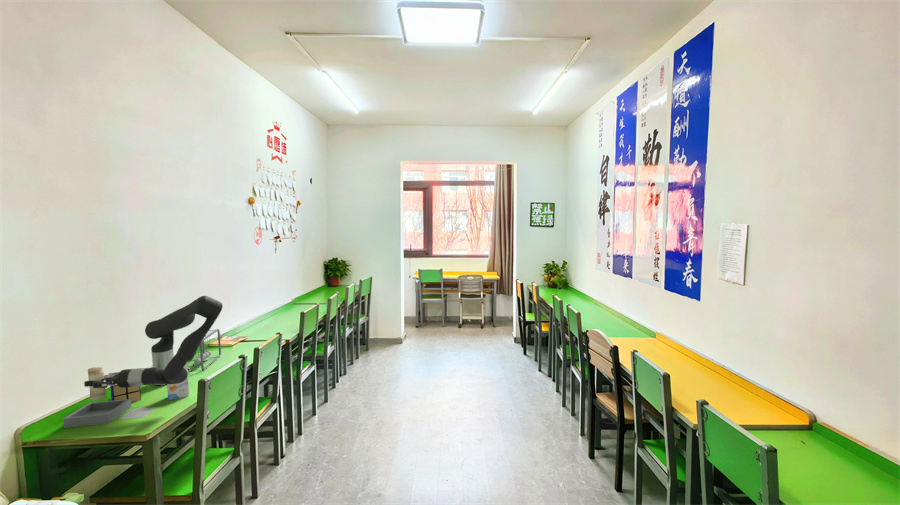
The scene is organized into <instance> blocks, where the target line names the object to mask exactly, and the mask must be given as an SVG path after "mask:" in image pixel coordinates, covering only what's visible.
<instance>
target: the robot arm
mask: <svg viewBox="0 0 900 505" xmlns="http://www.w3.org/2000/svg"><path fill="white" fill-rule="evenodd" d="M222 310H223V303H222V302H220V301H219V300H217V299H215V298H213V297H210V296H208V295H202V296H199V297H197V298H196V299H195V300H193V301H192V302H190V303H189V304H187V305H185V306H183V307H181V308H179V309H178V308H177V309H176V310H173V311H172V312H171V313H169V314H167V315H165V316H163V317H161V318H160V319H157V320H151V321H150V322H148V323H147V324H146V326H145V329H144V331H145V332H144V334H145V336H147V337H148V338H149V339H151V340H156V339H159V340H158V342H156V343H155V344H153V345H152V346H151V349H150V350H151V361H152V362H151V363H152V367H148V368H146V367H145V368H144V367H141V368H139V367H138V368H127V369H122V370H120V371H117V372H112V373H111V372H110V373H108V374H104V378H102V379H100V380H93V381H89V380H86V381H84V382H83V384H84V385H83V386H84V387H87V388H88V387H89V386H93V388H105V389H107V388H109V386H113V385H116V384H117V385H118V386H119V387H120V388H125V387H136V386H140V387H143V386H148V385H154V386H156V385H161V386H166V385H165V384H178V383H181V382H183V381H185V380H186V378H187V376H188V377H189V371H188V372H187V370H186V369H185V368H183V367H184V366H185V364H187V363H188V362H189V363H190V362H192V361H193V359H194V357H195V356H196V355H197V352H198V350H199V347H200V346H199V345H200V344H201V342H202V340H203V338H205V337H206V335H207V334H208V333H209V332H210V331H209V330H211V329H212V326H213V325H214V324H215V322H216V321H217V319H218V318H219V316H220V314H221V312H222ZM196 315H199V316H200V317H203V318H205V321H204V323H202V325H201V326H199V327H198V328H197V329H196V330H194V331H192V332H191V333H190V334H188V335H187V336H186V337H185V338H184V339H183V340H182V341H183V342H182V341H181V343H180V346H179V348H178V350H177V351H176V354H174V343H175V341H174V340H175V336H174V335H175V333H174V331H178V330H180V329H183V328H187V327H188V326H190V325H191V324H193V323H194V321H195V318H196Z"/></svg>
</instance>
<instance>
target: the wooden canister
mask: <svg viewBox="0 0 900 505" xmlns="http://www.w3.org/2000/svg"><path fill="white" fill-rule="evenodd" d="M104 370H105V369H104V366H102V365H101V366H100V365H99V366H93V367H90V368H88V369H87V375H88V381H93V380H100V379H102V378H104V375H105V374H104V372H105V371H104ZM106 397H107V392H106V388H93V386H89V398H90V402H96V401H99V400H103V399H105V398H106Z"/></svg>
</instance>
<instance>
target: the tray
mask: <svg viewBox="0 0 900 505" xmlns="http://www.w3.org/2000/svg"><path fill="white" fill-rule="evenodd" d="M131 408H132V402H131V399H125V400H113V401H111V400H105V401H90V402H89V403H87V404H85V405H84V406H83V407H80V408H79V409H77V410H76V411H74V412H72V413H70V414H69V415H67V416H66V417H64V418H63V419H62V420H63V428H64V429H70V428H73V427H74V428H75V427H82V426H95V425H105V424H106V425H107V424H109V423H110V422H112V421H113V420H115V419H117V418H118V417H119V416H121V415H122V414H123V413H125V412H127V411H128V410H129V409H131Z"/></svg>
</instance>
